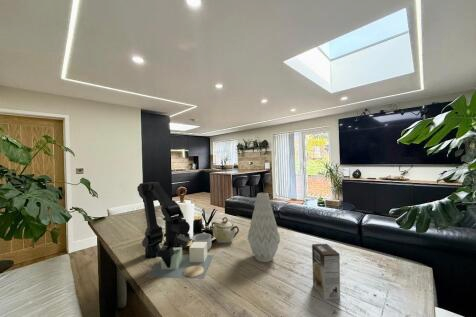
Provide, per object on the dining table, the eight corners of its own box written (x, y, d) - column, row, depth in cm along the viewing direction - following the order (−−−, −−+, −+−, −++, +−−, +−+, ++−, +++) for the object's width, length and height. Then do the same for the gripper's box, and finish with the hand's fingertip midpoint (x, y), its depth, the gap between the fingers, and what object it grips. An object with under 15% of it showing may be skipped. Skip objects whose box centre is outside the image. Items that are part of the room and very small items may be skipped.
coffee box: (312, 284, 80) (311, 243, 80) (327, 283, 81) (326, 242, 81) (323, 300, 71) (322, 254, 71) (341, 298, 71) (340, 253, 72)
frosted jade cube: (161, 269, 93) (161, 253, 93) (168, 261, 100) (167, 247, 100) (176, 269, 92) (176, 254, 92) (182, 261, 99) (182, 247, 99)
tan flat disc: (180, 277, 86) (180, 276, 86) (187, 266, 95) (187, 265, 95) (200, 277, 85) (200, 276, 85) (205, 266, 94) (205, 265, 94)
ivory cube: (189, 262, 99) (189, 247, 99) (193, 255, 106) (193, 241, 106) (204, 262, 98) (203, 247, 98) (207, 255, 105) (207, 241, 105)
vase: (240, 258, 102) (239, 194, 102) (260, 248, 114) (259, 190, 115) (268, 270, 91) (266, 197, 91) (286, 257, 103) (285, 193, 103)
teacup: (207, 255, 106) (207, 240, 106) (188, 254, 108) (188, 239, 108) (215, 245, 120) (215, 231, 120) (198, 243, 122) (198, 230, 122)
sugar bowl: (244, 239, 127) (244, 215, 127) (232, 248, 114) (232, 222, 114) (218, 234, 136) (218, 212, 137) (204, 242, 123) (204, 218, 123)
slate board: (144, 278, 87) (144, 276, 87) (166, 255, 107) (166, 254, 107) (204, 279, 84) (204, 278, 84) (213, 256, 105) (213, 255, 105)
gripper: (181, 238, 86) (181, 274, 86) (193, 224, 105) (194, 254, 105) (155, 237, 87) (156, 274, 87) (173, 224, 106) (173, 254, 105)
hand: (172, 263), depth 96 cm, fingers closed on frosted jade cube, 7 cm apart
